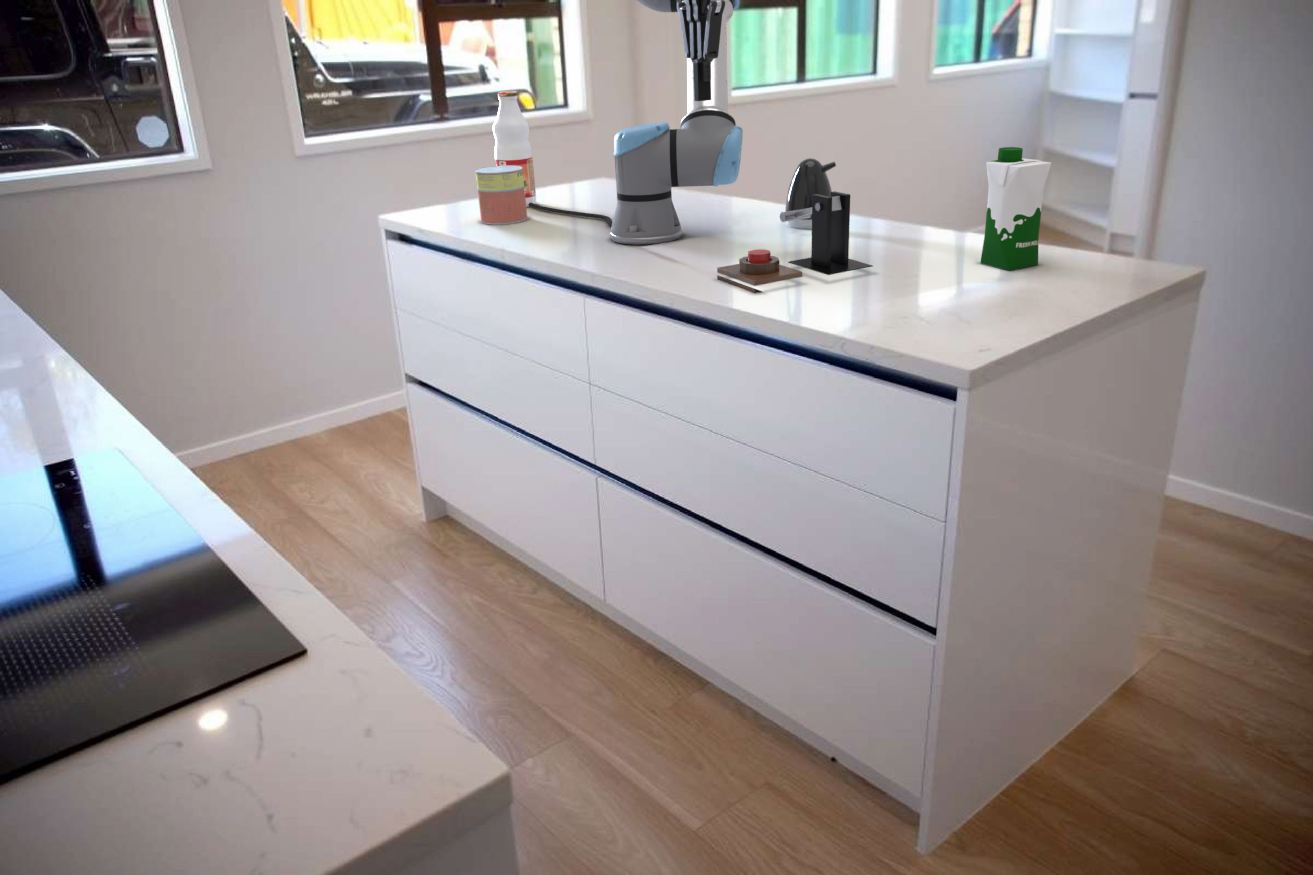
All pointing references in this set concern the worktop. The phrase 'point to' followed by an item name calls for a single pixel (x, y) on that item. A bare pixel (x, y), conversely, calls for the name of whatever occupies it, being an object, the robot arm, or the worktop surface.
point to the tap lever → (807, 211)
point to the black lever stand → (830, 237)
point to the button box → (756, 273)
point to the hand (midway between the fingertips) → (702, 100)
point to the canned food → (501, 194)
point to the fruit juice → (514, 141)
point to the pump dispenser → (807, 188)
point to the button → (759, 256)
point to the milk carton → (1013, 210)
